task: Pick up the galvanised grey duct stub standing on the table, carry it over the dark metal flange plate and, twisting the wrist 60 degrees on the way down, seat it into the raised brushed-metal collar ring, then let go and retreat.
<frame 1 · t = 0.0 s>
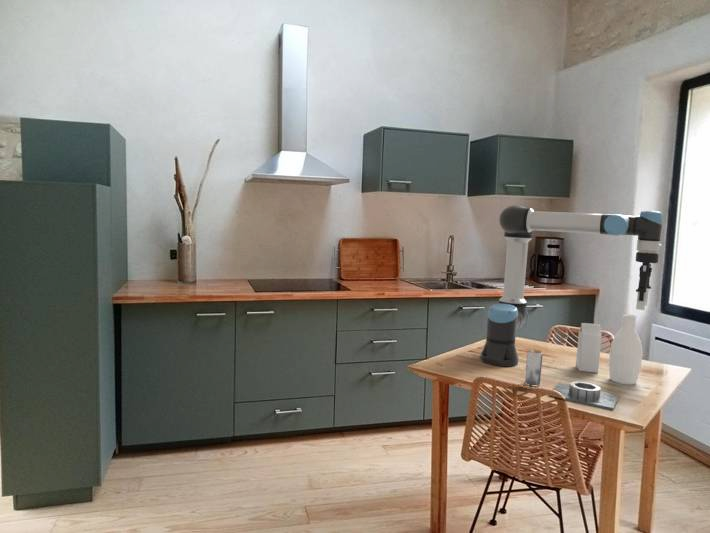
hand: (641, 307, 205), 28 cm above the table, fingers open, 13 cm apart
milk carton: (586, 370, 217), on the table
duct stub: (532, 384, 194), on the table
flange plate: (584, 396, 183), on the table
bottle: (622, 381, 204), on the table
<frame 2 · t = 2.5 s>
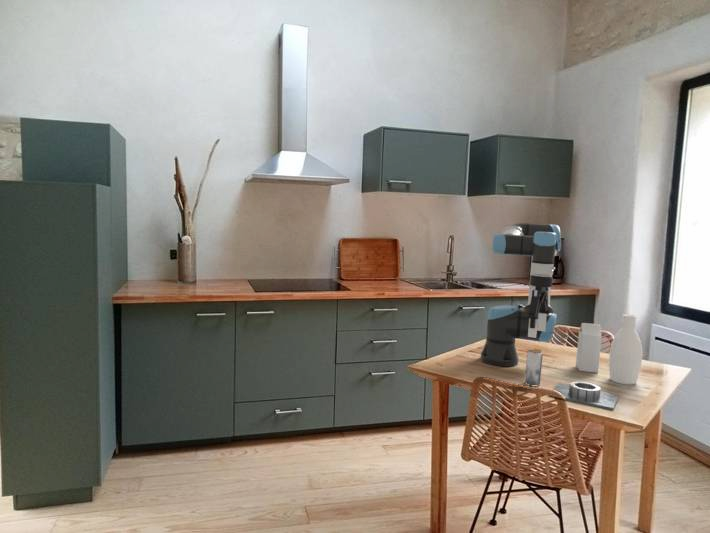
hand: (536, 333, 192), 19 cm above the table, fingers open, 13 cm apart
nothing on the table moved.
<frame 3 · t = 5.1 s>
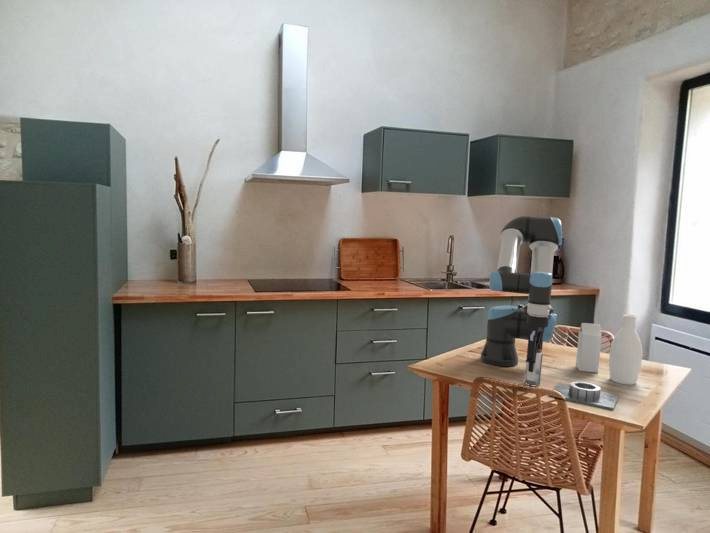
hand: (532, 378, 194), 2 cm above the table, fingers closed on duct stub, 5 cm apart
duct stub: (532, 384, 194), on the table, touching gripper
everything else where it was.
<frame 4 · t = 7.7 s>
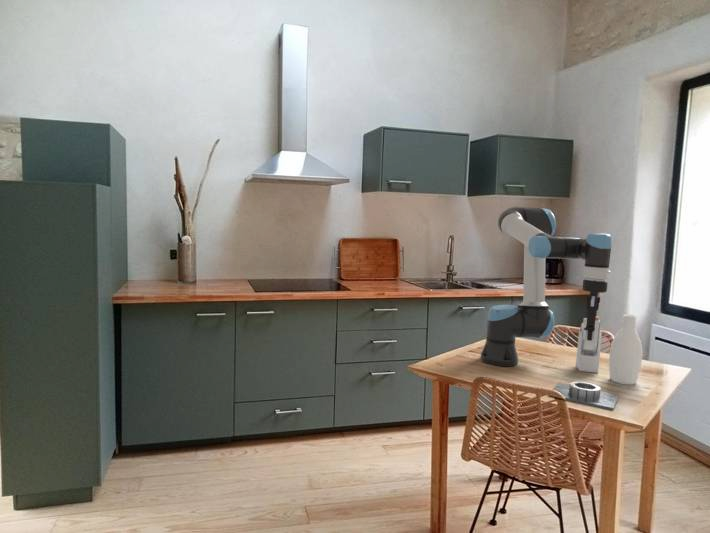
hand: (589, 347, 181), 17 cm above the table, fingers closed on duct stub, 5 cm apart
duct stub: (588, 354, 181), point 15 cm above the table, touching gripper
everything else where it was.
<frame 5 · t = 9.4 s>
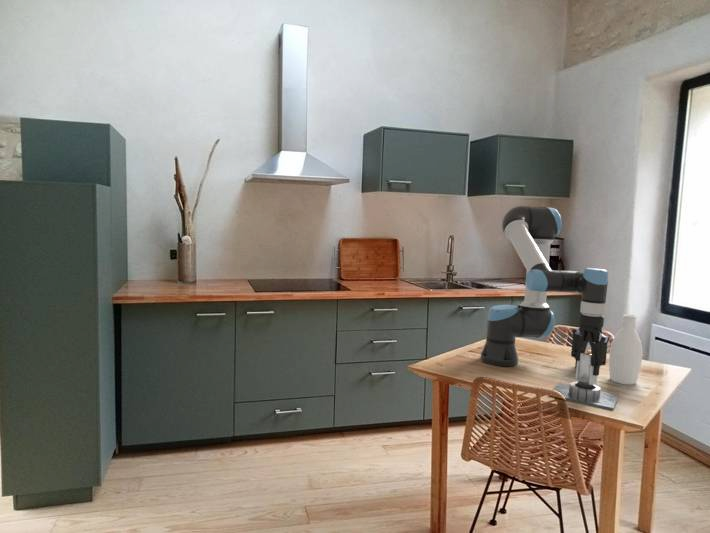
hand: (585, 381, 182), 5 cm above the table, fingers closed on duct stub, 5 cm apart
duct stub: (585, 388, 183), point 3 cm above the table, touching gripper
everything else where it was.
when the fingers open (5 cm above the table, at t = 10.5 s): duct stub drops 2 cm, resting on flange plate.
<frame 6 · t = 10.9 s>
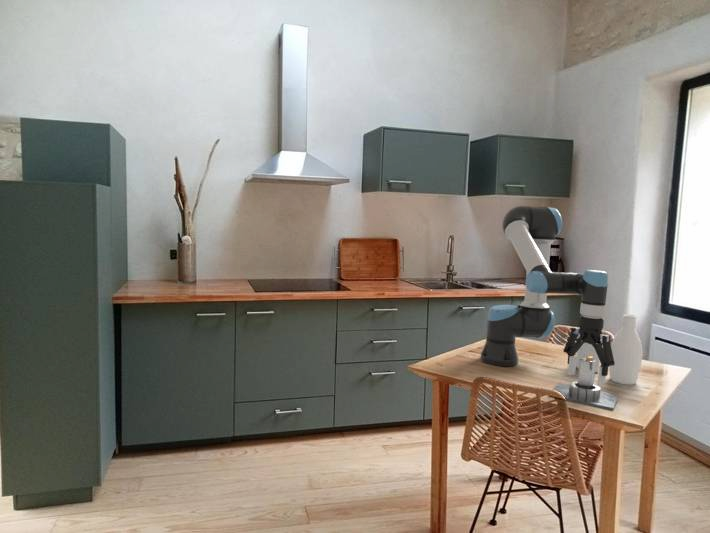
hand: (585, 379, 182), 6 cm above the table, fingers open, 11 cm apart
duct stub: (584, 394, 183), point 1 cm above the table, touching flange plate
everything else where it was.
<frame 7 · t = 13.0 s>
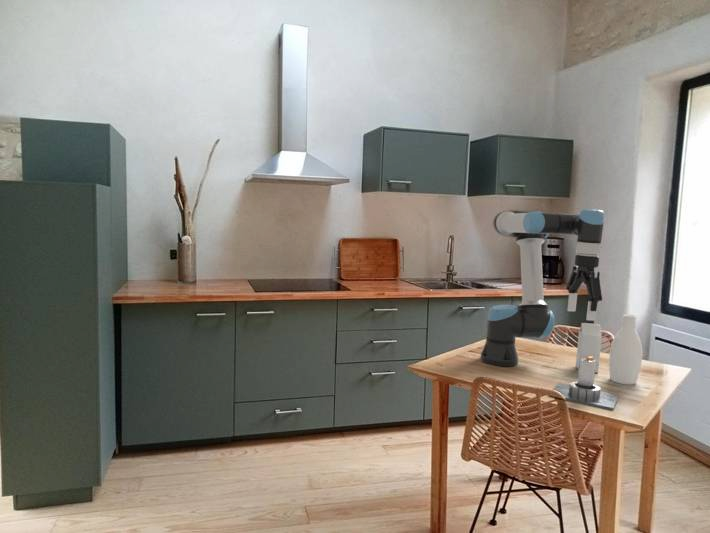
hand: (580, 315, 186), 27 cm above the table, fingers open, 13 cm apart
nothing on the table moved.
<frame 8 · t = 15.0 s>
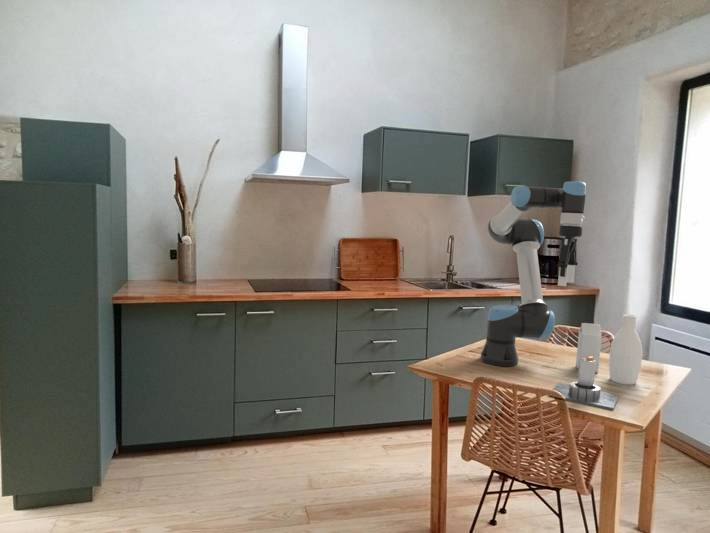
hand: (565, 284, 193), 37 cm above the table, fingers open, 13 cm apart
nothing on the table moved.
at the end: duct stub 0.0 cm off-centre on the flange plate, point 0.8 cm above the flange plate's base; duct stub tilted 0°; the gripper is holding nothing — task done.
